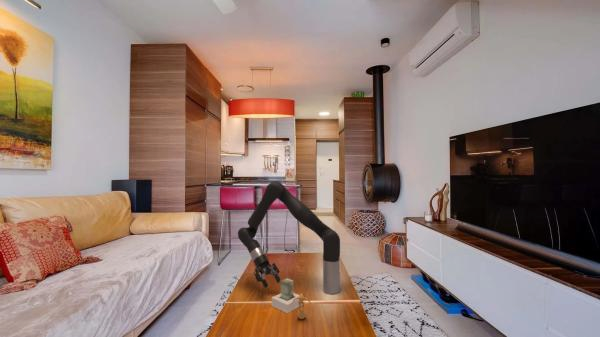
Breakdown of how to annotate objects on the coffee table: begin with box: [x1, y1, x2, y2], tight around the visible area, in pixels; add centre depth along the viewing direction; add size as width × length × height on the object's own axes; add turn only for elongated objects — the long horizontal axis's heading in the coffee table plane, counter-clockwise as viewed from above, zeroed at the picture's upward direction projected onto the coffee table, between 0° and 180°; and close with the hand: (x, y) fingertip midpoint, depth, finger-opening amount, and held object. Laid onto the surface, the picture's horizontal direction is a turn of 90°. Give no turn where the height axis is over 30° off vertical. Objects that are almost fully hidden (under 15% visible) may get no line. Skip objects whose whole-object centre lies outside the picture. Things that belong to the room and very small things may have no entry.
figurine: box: [292, 292, 312, 320], centre depth 115 cm, size 8×6×12 cm
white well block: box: [271, 292, 303, 314], centre depth 128 cm, size 11×11×4 cm
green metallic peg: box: [280, 278, 294, 301], centre depth 128 cm, size 4×4×12 cm
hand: (273, 284), depth 135 cm, fingers open, 8 cm apart
